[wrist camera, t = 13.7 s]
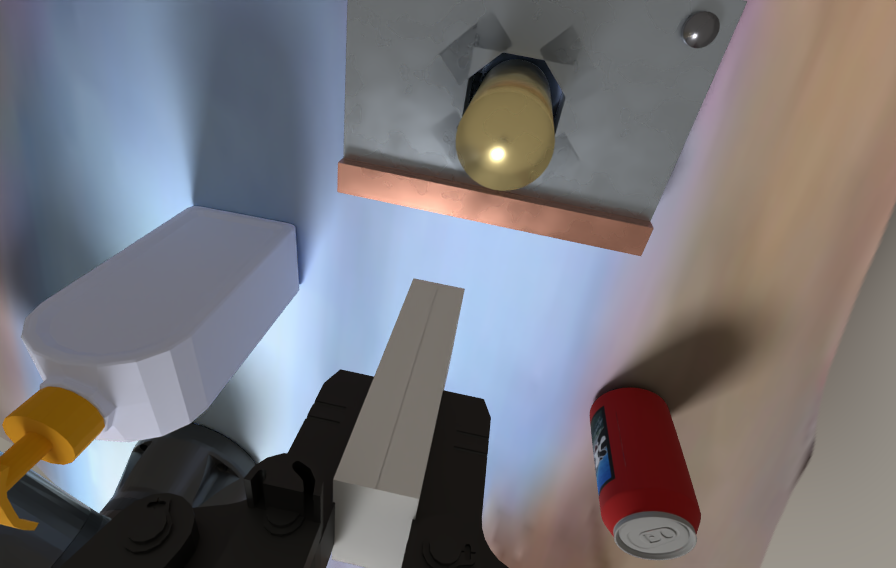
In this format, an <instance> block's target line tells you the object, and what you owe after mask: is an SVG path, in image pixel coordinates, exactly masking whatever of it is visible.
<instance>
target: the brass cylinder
mask: <svg viewBox="0 0 896 568" xmlns="http://www.w3.org/2000/svg"><path fill="white" fill-rule="evenodd" d="M554 146H555V133H554V123H553V112H552V102H551V92H550V86H549V82H548V80H547V78H546V76H545V74H544V73H543V72H542V70H541V69H540V68H539V67H537V66H536V65H535V64H533V63H531V62H529V61H526V60H521V59H511V60H507V61H504V62H501V63H499V64H498V65H496V66H495V67H493V68H492V69H491V70H490V71H489V72H488V74H487V75H486V76H485V78H484V80H483V81H482V83H481V85H480V87H479V88H478V90H477V92H476V94H475V95H474V97H473V99H472V101H471V103H470V104H469V106H468V108H467V110H466V111H465V113H464V115H463V117H462V119H461V120H460V123H459V125H458V128H457V133H456V151H457V155H458V159H459V161H460V163H461V165H462V167H463V169H464V170H465V172H466V173H467V174H468V175H469V176H470V177H471V178H472V179H473V180H474V181H476V182H477V183H479V184H480V185H482V186H484V187H487V188H490V189H493V190H500V191H508V190H515V189H519V188H522V187H525V186H526V185H528V184H530V183H532V182H533V181H535V180H536V179H537V178H538V177H539V176H540V175H541V174H542V173H543V172H544V171H545V169H546V168H547V166H548V165H549V163H550V161H551V158H552V155H553V152H554Z"/></svg>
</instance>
